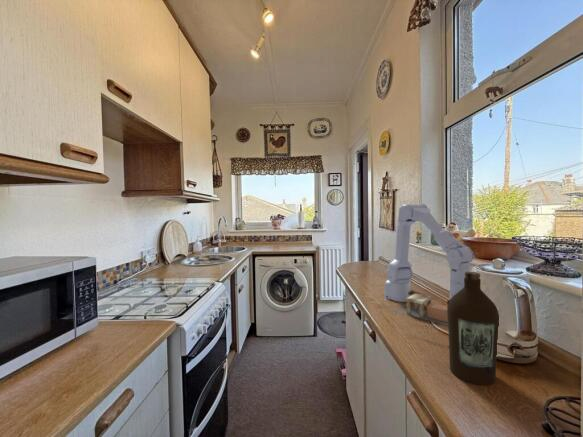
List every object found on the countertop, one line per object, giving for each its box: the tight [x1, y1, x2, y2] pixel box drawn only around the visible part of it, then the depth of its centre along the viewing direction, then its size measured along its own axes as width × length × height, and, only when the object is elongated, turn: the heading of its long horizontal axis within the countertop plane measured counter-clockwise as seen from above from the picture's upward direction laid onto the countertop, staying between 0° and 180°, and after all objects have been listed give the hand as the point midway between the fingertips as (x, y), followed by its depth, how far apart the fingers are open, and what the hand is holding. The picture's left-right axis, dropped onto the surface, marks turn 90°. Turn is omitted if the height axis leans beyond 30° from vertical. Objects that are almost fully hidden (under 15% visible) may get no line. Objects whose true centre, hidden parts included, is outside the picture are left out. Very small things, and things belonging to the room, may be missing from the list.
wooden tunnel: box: [405, 292, 432, 319], centre depth 105 cm, size 6×8×6 cm
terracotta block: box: [426, 302, 448, 322], centre depth 98 cm, size 11×4×4 cm, turn 44°
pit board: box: [393, 304, 448, 326], centre depth 103 cm, size 21×10×1 cm, turn 44°
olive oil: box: [446, 271, 500, 386], centre depth 67 cm, size 11×11×25 cm
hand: (459, 320), depth 95 cm, fingers closed on terracotta block, 4 cm apart
